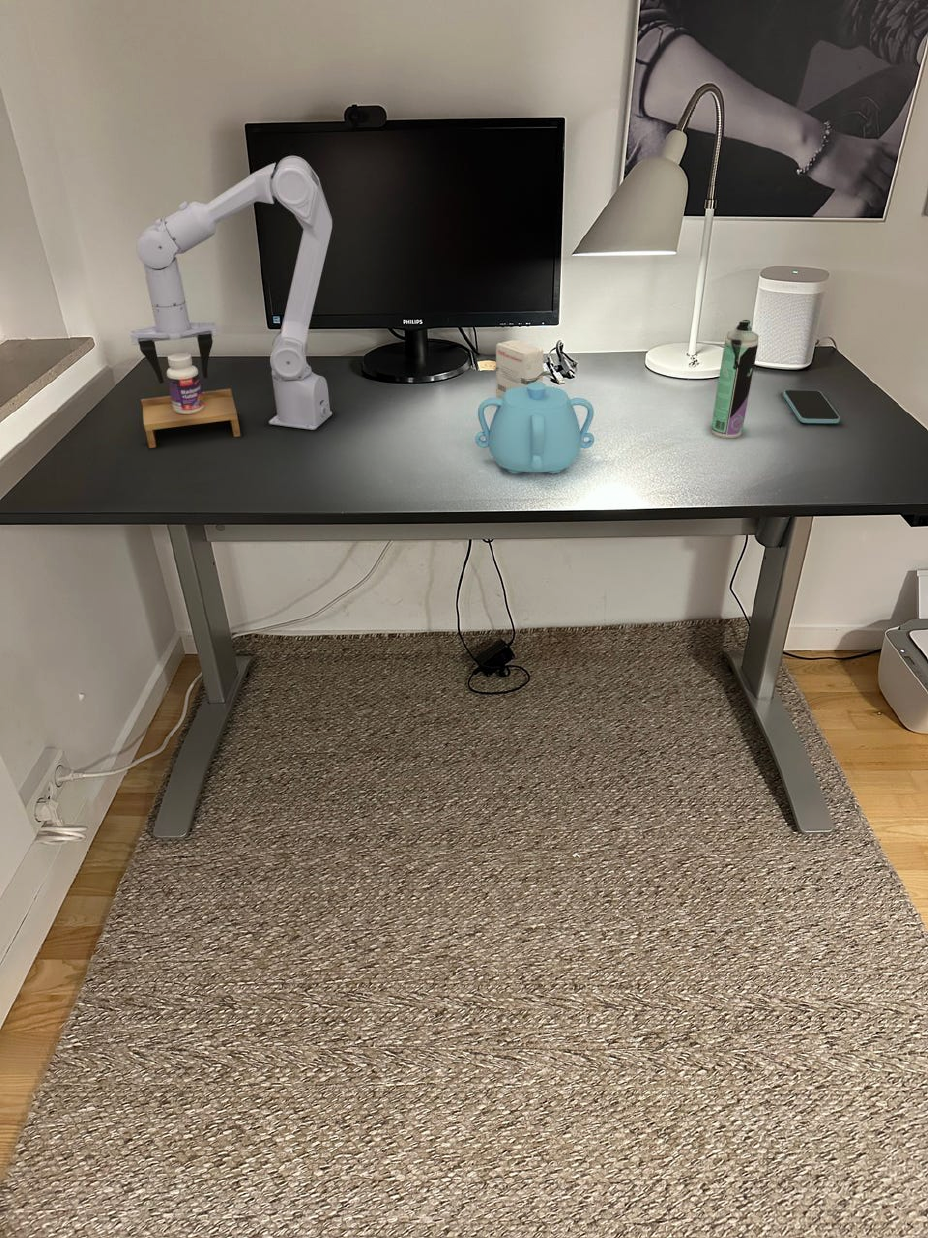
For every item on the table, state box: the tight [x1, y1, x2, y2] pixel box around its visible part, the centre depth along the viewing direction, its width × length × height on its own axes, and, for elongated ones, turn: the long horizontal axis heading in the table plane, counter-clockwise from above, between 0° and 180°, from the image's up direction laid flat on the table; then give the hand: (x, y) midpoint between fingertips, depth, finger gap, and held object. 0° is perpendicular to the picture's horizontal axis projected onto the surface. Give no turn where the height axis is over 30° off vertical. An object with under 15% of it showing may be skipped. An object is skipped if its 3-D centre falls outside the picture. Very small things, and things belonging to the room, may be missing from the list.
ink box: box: [495, 339, 544, 399], centre depth 170 cm, size 9×5×12 cm, turn 39°
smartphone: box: [782, 389, 841, 424], centre depth 171 cm, size 7×1×15 cm
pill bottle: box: [166, 351, 204, 414], centre depth 160 cm, size 5×5×10 cm
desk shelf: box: [140, 388, 241, 449], centre depth 164 cm, size 16×9×6 cm, turn 107°
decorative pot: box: [474, 382, 595, 474], centre depth 151 cm, size 16×16×14 cm
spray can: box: [710, 319, 760, 439], centre depth 158 cm, size 6×6×20 cm
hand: (183, 378), depth 163 cm, fingers open, 7 cm apart
